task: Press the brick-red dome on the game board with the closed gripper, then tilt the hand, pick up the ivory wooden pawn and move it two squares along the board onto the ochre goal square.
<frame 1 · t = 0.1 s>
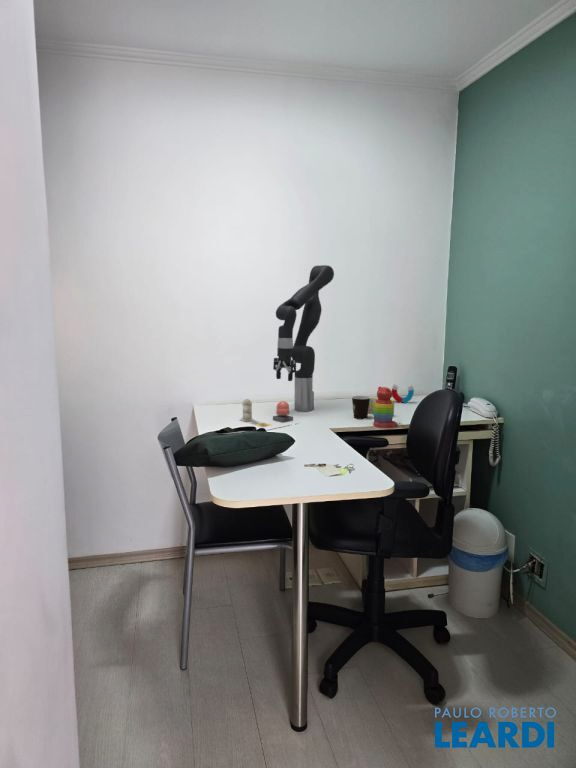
hand: (284, 379, 275), 17 cm above the table, tool pointing down, fingers open, 8 cm apart
dome: (282, 407, 260), point 7 cm above the table, slide at 0.0 cm
magnet: (402, 402, 307), on the table
coffee mug: (360, 417, 272), on the table
game board: (263, 423, 258), on the table
pawn: (247, 420, 260), point 1 cm above the table, touching game board
candy box: (378, 415, 278), on the table
stacking bear: (383, 425, 255), on the table
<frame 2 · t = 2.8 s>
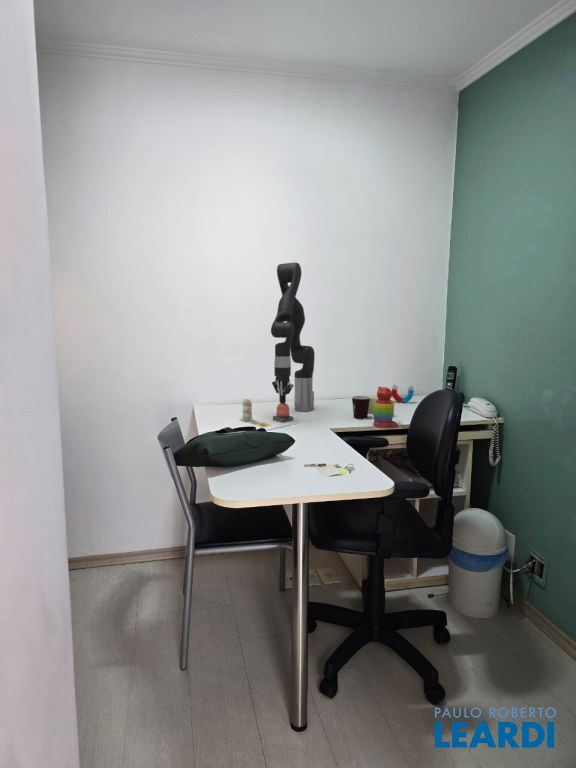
hand: (282, 402, 259), 9 cm above the table, tool pointing down, fingers closed
dome: (282, 409, 260), point 6 cm above the table, slide at 0.7 cm, touching gripper
everything else where it was.
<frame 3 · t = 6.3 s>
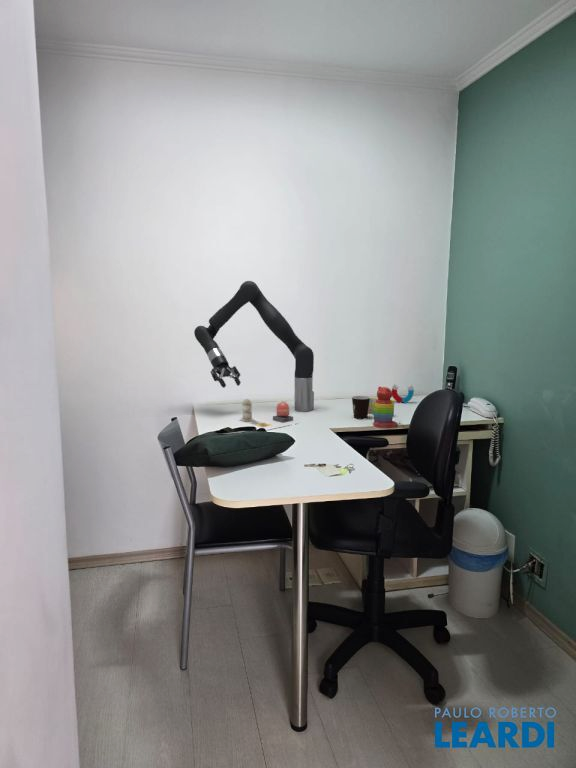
hand: (232, 385, 266), 16 cm above the table, tool tilted 45°, fingers open, 8 cm apart
dome: (282, 408, 260), point 7 cm above the table, slide at 0.3 cm
everything else where it was.
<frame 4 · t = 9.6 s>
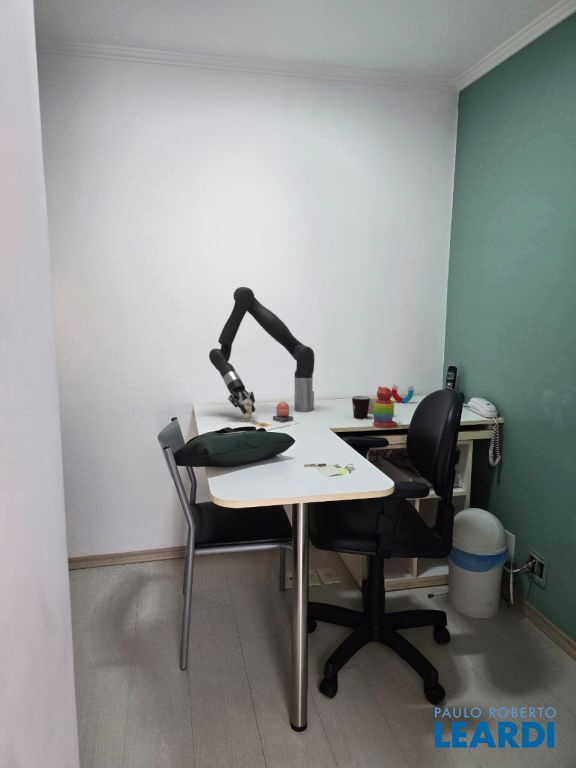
hand: (249, 411, 258), 5 cm above the table, tool tilted 45°, fingers closed on pawn, 4 cm apart
pawn: (247, 420, 260), point 1 cm above the table, touching game board, gripper
everything else where it was.
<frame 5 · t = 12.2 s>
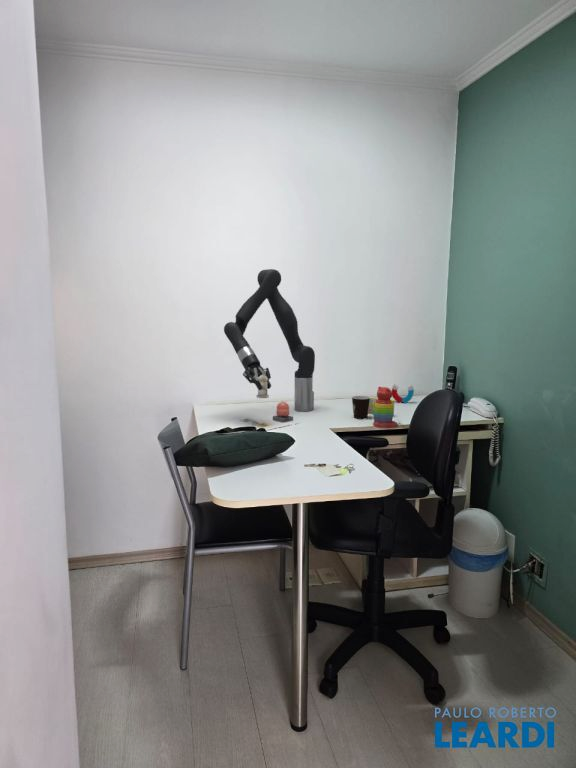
hand: (265, 388, 248), 18 cm above the table, tool tilted 45°, fingers closed on pawn, 4 cm apart
pawn: (262, 397, 250), point 14 cm above the table, touching gripper
everything else where it was.
when the fingers open (7 cm above the table, at t = 14.8 s): pawn drops 1 cm, resting on game board.
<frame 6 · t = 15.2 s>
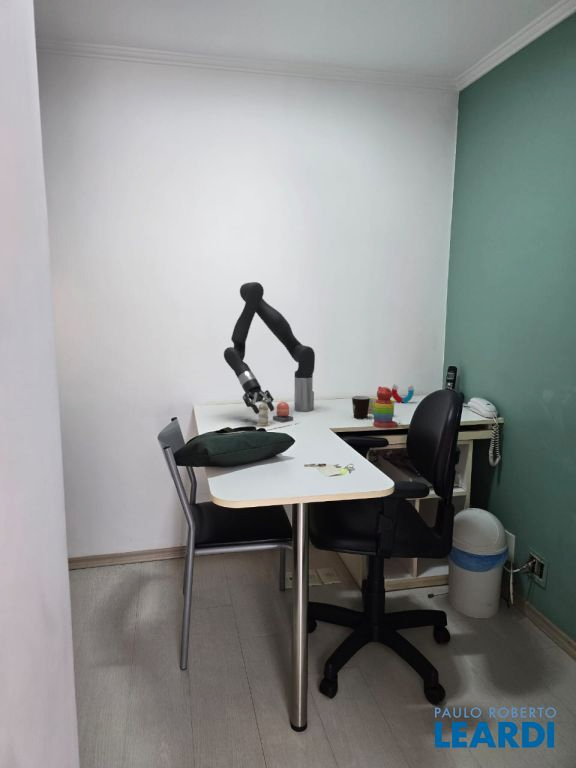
hand: (265, 411, 250), 7 cm above the table, tool tilted 45°, fingers open, 8 cm apart
pawn: (263, 424, 252), point 1 cm above the table, touching game board
everything else where it was.
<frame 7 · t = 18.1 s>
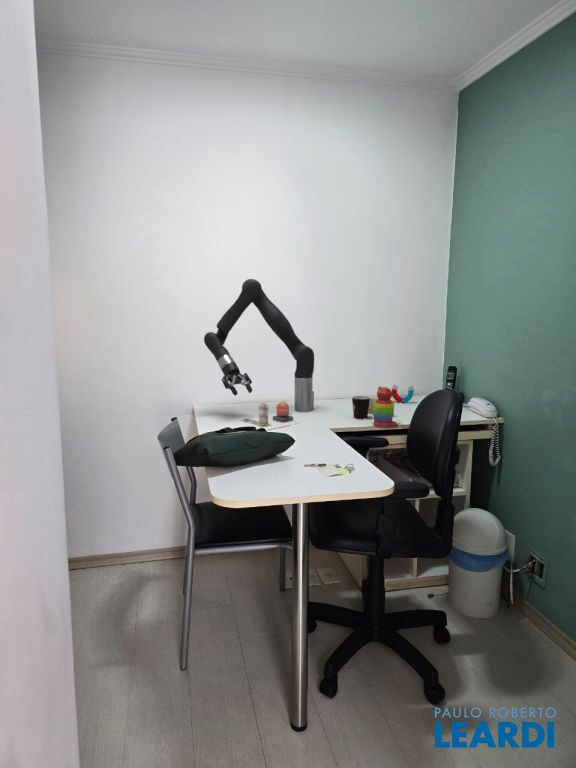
hand: (243, 393, 260), 14 cm above the table, tool tilted 45°, fingers open, 8 cm apart
nothing on the table moved.
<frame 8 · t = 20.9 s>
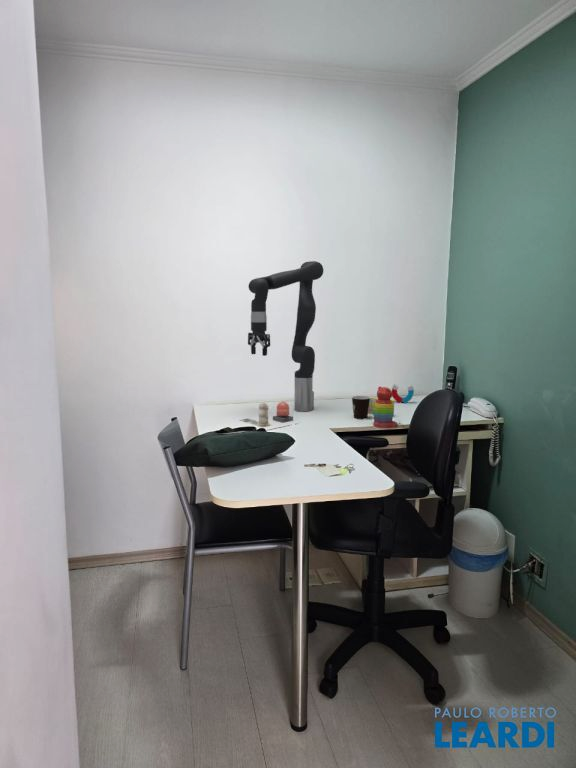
hand: (259, 354, 269), 30 cm above the table, tool pointing down, fingers open, 8 cm apart
nothing on the table moved.
at the end: pawn 0.1 cm from the target spot, point 1.0 cm above the table; pawn tilted 0°; the gripper is holding nothing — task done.
